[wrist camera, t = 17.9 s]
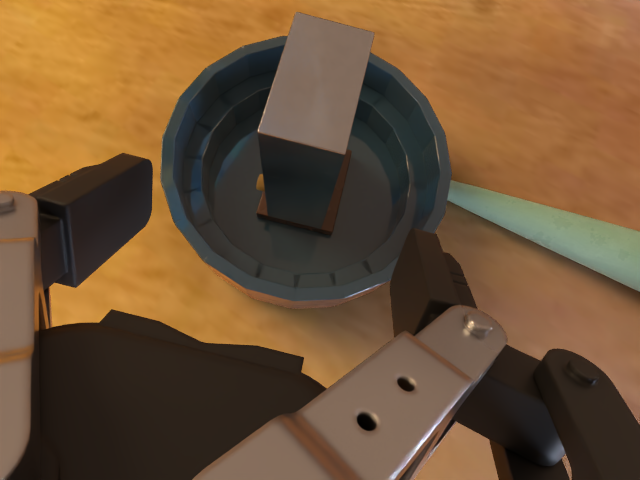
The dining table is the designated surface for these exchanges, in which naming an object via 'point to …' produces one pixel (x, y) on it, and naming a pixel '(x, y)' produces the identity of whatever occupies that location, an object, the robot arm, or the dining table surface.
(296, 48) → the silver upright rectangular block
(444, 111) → the dining table surface
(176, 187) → the bowl
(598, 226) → the mint green cone
